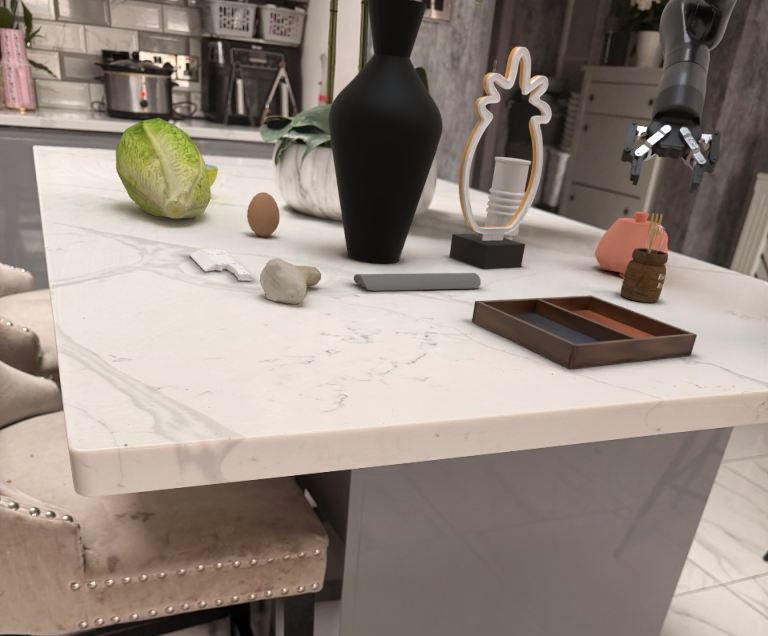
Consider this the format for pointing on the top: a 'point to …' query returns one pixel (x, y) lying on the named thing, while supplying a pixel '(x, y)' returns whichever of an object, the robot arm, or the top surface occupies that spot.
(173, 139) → the lettuce
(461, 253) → the lamp
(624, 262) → the pink rounded pot
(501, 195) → the white ribbed cup
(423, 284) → the half round rod
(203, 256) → the white flat piece
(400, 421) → the top surface
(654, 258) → the utensil holder
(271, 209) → the egg
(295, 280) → the stone
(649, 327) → the sorting tray
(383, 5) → the vase
